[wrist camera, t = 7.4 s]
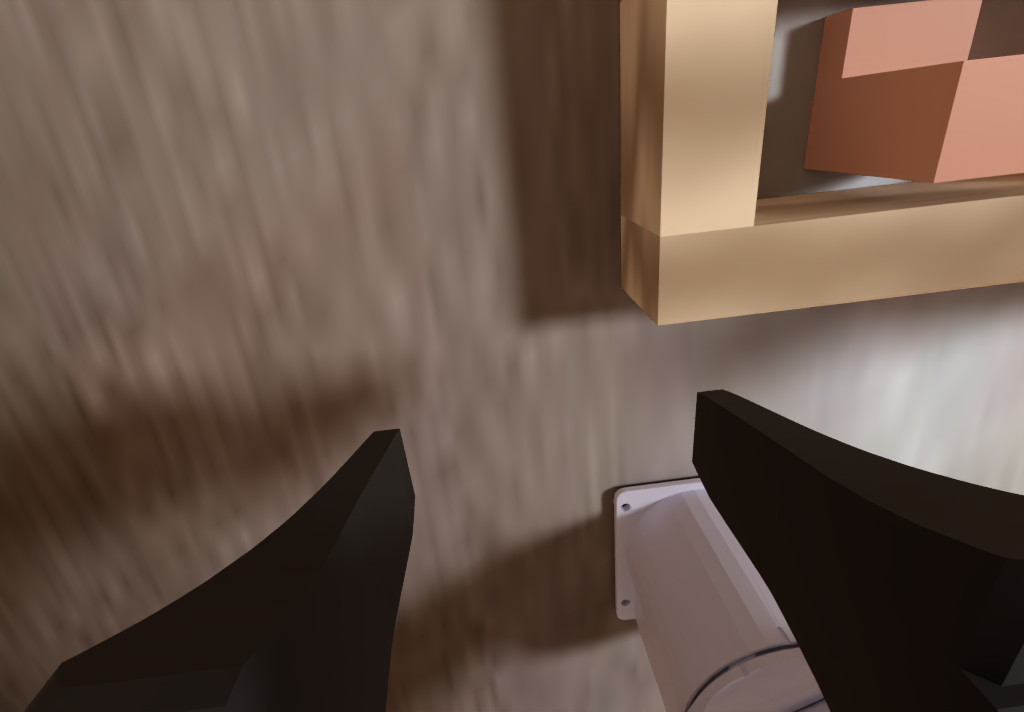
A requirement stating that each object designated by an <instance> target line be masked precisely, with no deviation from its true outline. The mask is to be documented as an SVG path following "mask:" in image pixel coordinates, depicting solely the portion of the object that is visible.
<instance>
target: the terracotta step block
mask: <svg viewBox="0 0 1024 712" xmlns="http://www.w3.org/2000/svg"><path fill="white" fill-rule="evenodd" d="M981 4H982V0H928V1H918V2H908V3H899V4H889V5H879V6H870V7H860V8H852V9H849V10H846V11H843V12H840V13H837V14H834V15H831V16H828V17H825V21H824V28H823V35H822V42H821V49H820V56H819V64H818V71H817V78H816V85H815V92H814V99H813V106H812V113H811V120H810V127H809V134H808V141H807V148H806V155H805V162H804V169H811V170H821V171H830V172H839V173H848V174H857V175H866V176H875V177H884V178H893V179H902V180H911V181H920V182H929V183H938V182H947V181H956V180H964V179H973V178H982V177H991V176H999V175H1008V174H1017V173H1024V54H1021V55H1012V56H1003V57H993V58H984V59H975V60H968V56H969V52H970V48H971V44H972V40H973V36H974V32H975V28H976V24H977V20H978V16H979V12H980V8H981Z"/></svg>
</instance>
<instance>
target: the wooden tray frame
mask: <svg viewBox="0 0 1024 712" xmlns="http://www.w3.org/2000/svg"><path fill="white" fill-rule="evenodd" d="M777 4H778V0H620V124H621V288H622V289H623V290H624V291H625V292H626V293H627V294H628V295H629V296H630V297H631V298H632V299H633V300H634V301H635V302H636V303H637V304H638V305H639V307H640V308H641V309H642V310H643V311H644V312H645V313H646V314H647V315H648V316H649V317H650V318H651V319H652V320H653V321H654V322H655V323H656V324H657V325H666V324H675V323H683V322H691V321H700V320H708V319H717V318H725V317H733V316H742V315H750V314H758V313H767V312H775V311H783V310H792V309H800V308H808V307H817V306H825V305H833V304H842V303H850V302H858V301H867V300H875V299H884V298H892V297H900V296H909V295H917V294H925V293H934V292H942V291H950V290H959V289H967V288H975V287H984V286H992V285H1000V284H1009V283H1017V282H1024V173H1017V174H1008V175H999V176H991V177H982V178H973V179H964V180H956V181H947V182H938V183H929V182H920V181H916V182H907V183H898V184H889V185H880V186H872V187H863V188H854V189H845V190H836V191H828V192H819V193H810V194H801V195H792V196H784V197H775V198H766V199H757V191H758V182H759V172H760V163H761V154H762V144H763V135H764V125H765V116H766V107H767V97H768V88H769V79H770V69H771V60H772V51H773V41H774V32H775V22H776V13H777Z"/></svg>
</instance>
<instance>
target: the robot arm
mask: <svg viewBox="0 0 1024 712" xmlns="http://www.w3.org/2000/svg"><path fill="white" fill-rule="evenodd" d="M692 462H693V464H694V467H695V469H696V471H697V473H698V475H699V478H695V479H687V480H679V481H671V482H664V483H656V484H648V485H640V486H632V487H625V488H621V489H619V490H617V491H616V492H615V494H614V532H615V604H616V613H617V617H618V618H619V619H622V620H629V619H636V622H637V625H638V628H639V631H640V634H641V637H642V640H643V643H644V646H645V649H646V652H647V655H648V658H649V661H650V664H651V667H652V670H653V672H654V675H655V678H656V681H657V684H658V687H659V690H660V693H661V696H662V699H663V702H664V705H665V708H666V711H667V712H1024V495H1019V494H1014V493H1010V492H1005V491H1001V490H996V489H992V488H988V487H984V486H979V485H975V484H971V483H968V482H964V481H960V480H956V479H953V478H949V477H945V476H942V475H938V474H934V473H931V472H927V471H924V470H921V469H917V468H914V467H911V466H907V465H904V464H901V463H898V462H895V461H892V460H890V459H887V458H884V457H881V456H878V455H875V454H872V453H869V452H866V451H864V450H861V449H858V448H855V447H853V446H850V445H848V444H845V443H843V442H840V441H838V440H836V439H833V438H831V437H828V436H826V435H823V434H821V433H819V432H816V431H814V430H812V429H809V428H807V427H805V426H803V425H800V424H798V423H796V422H794V421H792V420H790V419H787V418H785V417H783V416H781V415H779V414H777V413H774V412H772V411H770V410H768V409H766V408H764V407H762V406H760V405H757V404H755V403H753V402H751V401H749V400H747V399H744V398H742V397H740V396H738V395H735V394H733V393H731V392H728V391H725V390H722V389H721V390H713V391H705V392H697V403H696V417H695V431H694V444H693V458H692ZM623 504H627V505H626V506H622V505H623ZM414 506H415V494H414V490H413V485H412V481H411V476H410V472H409V468H408V463H407V459H406V454H405V450H404V446H403V441H402V437H401V432H400V429H392V430H384V431H375V432H373V433H372V434H371V435H370V436H369V437H368V438H367V440H366V441H365V442H364V443H363V444H362V445H361V446H360V447H359V448H358V450H357V451H356V452H355V453H354V454H353V455H352V456H351V457H350V458H349V460H348V461H347V462H346V463H345V464H344V465H343V466H342V467H341V468H340V469H339V470H338V471H337V472H336V473H335V475H334V476H333V477H332V478H331V479H330V480H329V481H328V482H327V483H326V484H325V485H324V486H323V487H322V488H321V489H320V490H319V491H318V492H317V493H316V494H315V495H314V496H313V497H312V498H310V499H309V500H308V501H307V502H306V503H305V504H304V505H303V506H302V507H301V508H300V509H299V510H298V511H297V512H296V513H295V514H294V515H293V516H291V517H290V518H289V519H288V520H287V521H286V522H285V523H283V524H282V525H281V526H280V527H279V528H278V529H276V530H275V531H274V532H273V533H271V534H270V535H269V536H268V537H266V538H265V539H264V540H263V541H262V542H260V543H259V544H258V545H256V546H255V547H254V548H253V549H251V550H250V551H249V552H247V553H246V554H244V555H243V556H241V557H240V558H239V559H237V560H236V561H234V562H233V563H232V564H230V565H229V566H227V567H226V568H225V569H223V570H222V571H220V572H219V573H217V574H216V575H215V576H213V577H212V578H210V579H209V580H207V581H206V582H204V583H203V584H201V585H200V586H198V587H197V588H195V589H193V590H192V591H190V592H189V593H187V594H186V595H184V596H182V597H181V598H179V599H178V600H176V601H174V602H173V603H171V604H169V605H168V606H166V607H164V608H163V609H161V610H159V611H158V612H156V613H154V614H153V615H151V616H149V617H147V618H145V619H144V620H142V621H140V622H138V623H137V624H135V625H133V626H131V627H129V628H127V629H126V630H124V631H122V632H120V633H118V634H116V635H114V636H112V637H111V638H109V639H107V640H105V641H103V642H101V643H99V644H97V645H95V646H94V647H92V648H90V649H88V650H86V651H84V652H82V653H80V654H78V655H76V656H74V657H72V658H70V659H68V660H66V661H64V662H62V663H61V665H60V666H59V667H58V668H57V670H56V671H55V672H54V673H53V675H52V676H51V677H50V679H49V680H48V681H47V682H46V684H45V685H44V686H43V688H42V689H41V690H40V692H39V693H38V694H37V695H36V697H35V698H34V699H33V701H32V702H31V703H30V704H29V706H28V707H27V708H26V710H25V711H24V712H385V710H386V698H387V687H388V677H389V667H390V656H391V646H392V640H393V633H394V627H395V621H396V616H397V611H398V606H399V601H400V596H401V591H402V586H403V581H404V576H405V571H406V566H407V561H408V556H409V551H410V546H411V540H412V535H413V522H414Z"/></svg>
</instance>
